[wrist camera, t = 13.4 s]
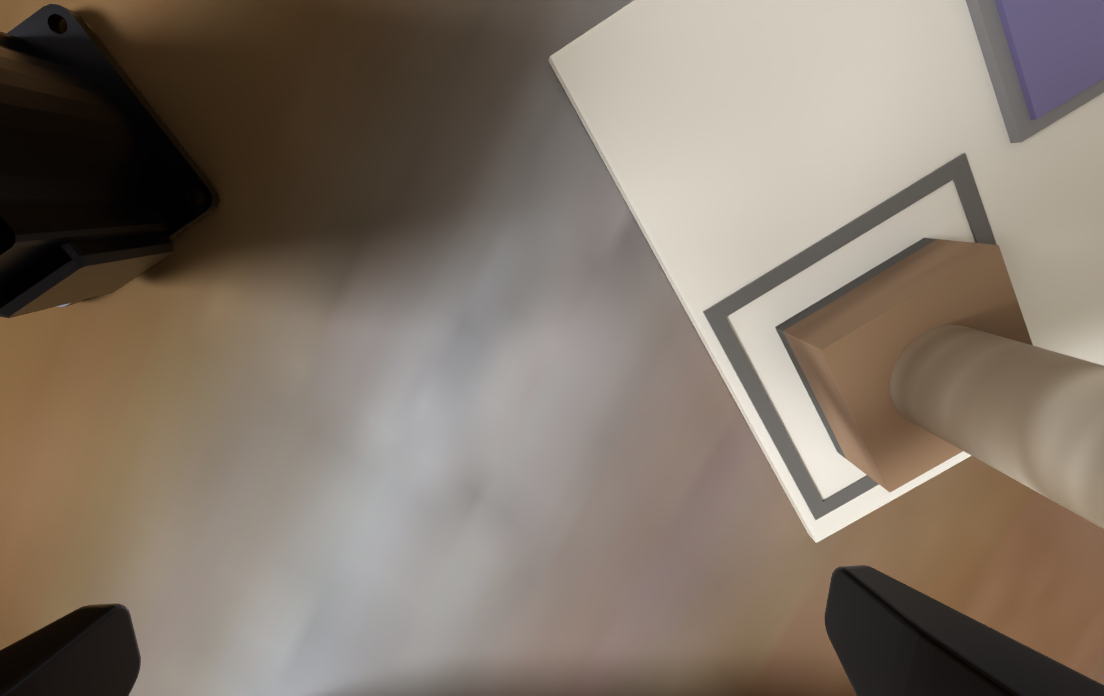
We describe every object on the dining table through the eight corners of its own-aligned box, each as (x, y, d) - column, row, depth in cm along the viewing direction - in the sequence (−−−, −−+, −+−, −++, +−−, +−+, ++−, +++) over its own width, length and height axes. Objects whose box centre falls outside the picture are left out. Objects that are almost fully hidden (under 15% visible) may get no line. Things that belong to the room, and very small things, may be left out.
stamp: (774, 326, 19) (1166, 517, 8) (923, 237, 19) (1565, 301, 8) (837, 452, 21) (1236, 759, 10) (975, 372, 21) (1567, 594, 9)
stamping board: (548, 60, 17) (551, 51, 16) (1167, -350, 15) (1220, -394, 14) (808, 534, 23) (824, 551, 22) (1277, 269, 21) (1322, 273, 20)
